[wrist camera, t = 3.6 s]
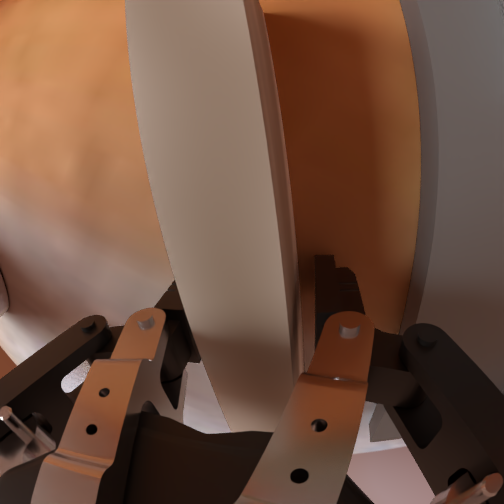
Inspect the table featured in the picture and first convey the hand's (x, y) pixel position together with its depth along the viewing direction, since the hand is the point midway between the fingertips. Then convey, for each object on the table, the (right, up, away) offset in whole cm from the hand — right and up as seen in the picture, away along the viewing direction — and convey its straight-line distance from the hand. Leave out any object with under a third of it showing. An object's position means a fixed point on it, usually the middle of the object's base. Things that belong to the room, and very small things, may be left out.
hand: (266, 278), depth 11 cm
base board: (+13, +1, -2) cm, 13 cm away
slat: (0, 0, +1) cm, 1 cm away
